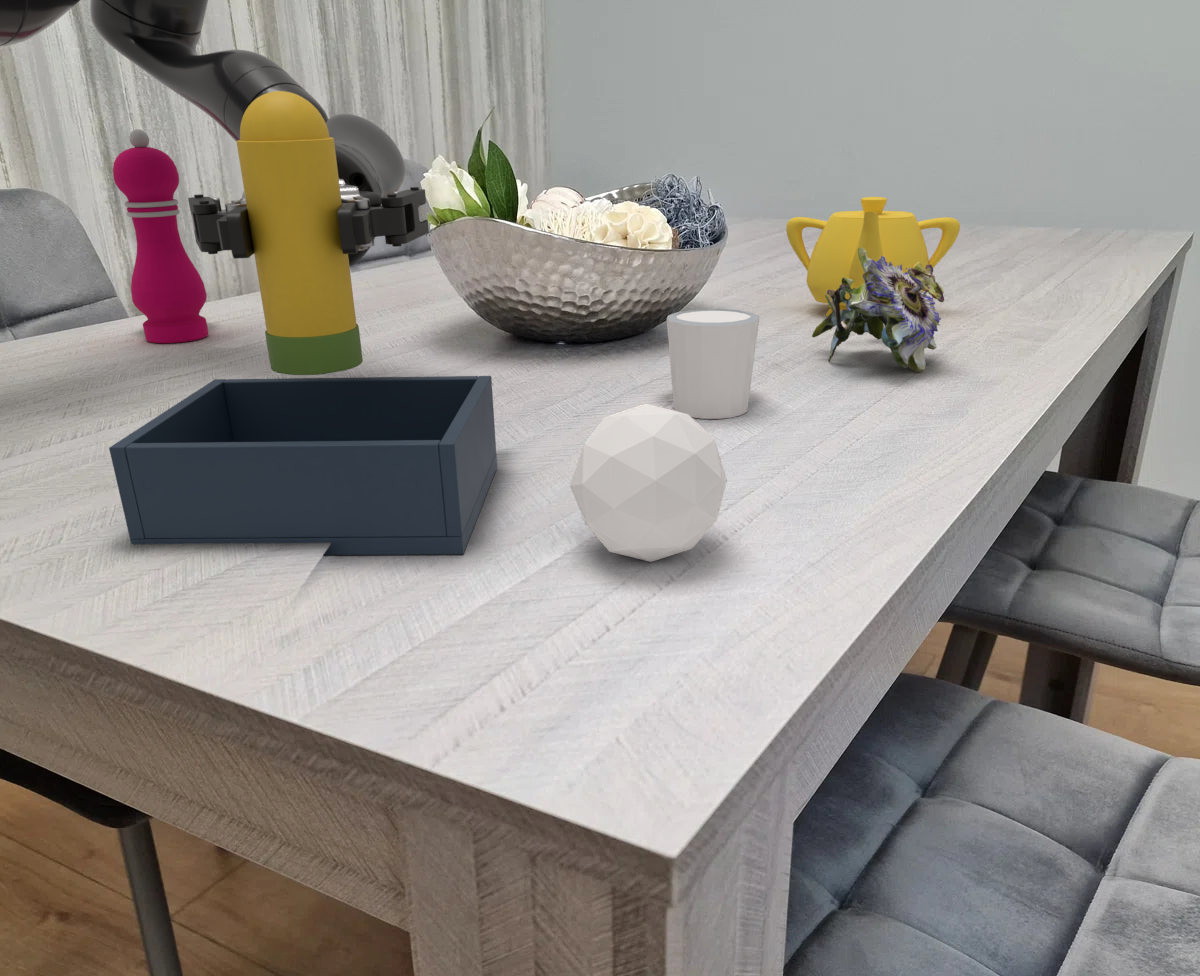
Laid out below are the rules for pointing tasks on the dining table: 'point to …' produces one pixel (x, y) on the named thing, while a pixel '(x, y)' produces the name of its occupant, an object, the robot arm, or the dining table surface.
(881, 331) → the passion flower
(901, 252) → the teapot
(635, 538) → the geometric ball
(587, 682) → the dining table surface
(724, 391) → the shot glass
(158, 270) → the pepper mill
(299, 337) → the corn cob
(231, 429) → the dark blue open box
